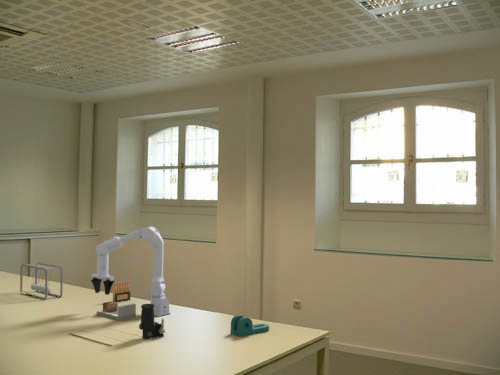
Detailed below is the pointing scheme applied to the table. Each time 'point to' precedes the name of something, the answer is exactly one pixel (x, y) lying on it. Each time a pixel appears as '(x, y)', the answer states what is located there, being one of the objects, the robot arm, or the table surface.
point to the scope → (150, 323)
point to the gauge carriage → (110, 306)
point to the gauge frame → (121, 312)
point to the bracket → (246, 326)
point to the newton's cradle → (40, 287)
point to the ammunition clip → (121, 291)
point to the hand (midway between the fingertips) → (102, 293)
